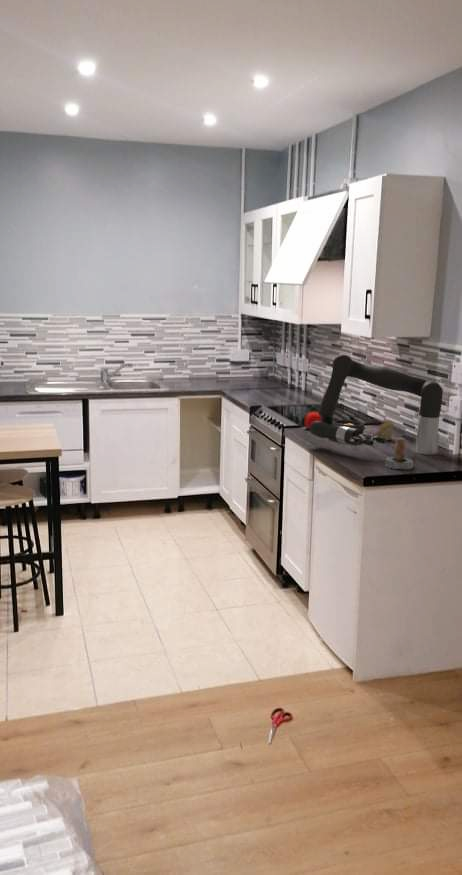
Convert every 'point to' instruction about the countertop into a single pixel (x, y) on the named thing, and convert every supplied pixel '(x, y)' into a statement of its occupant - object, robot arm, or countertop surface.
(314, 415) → the tomato
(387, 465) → the collar
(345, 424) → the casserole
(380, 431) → the rock
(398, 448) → the dowel
